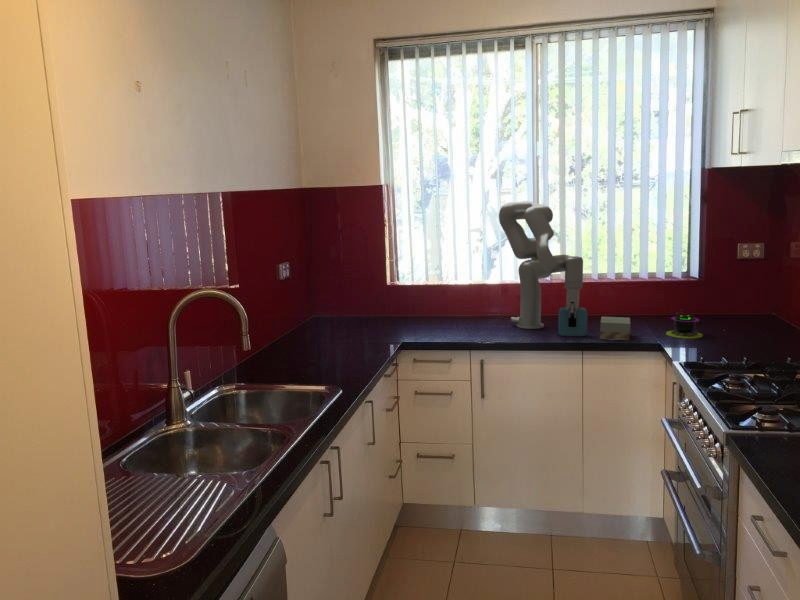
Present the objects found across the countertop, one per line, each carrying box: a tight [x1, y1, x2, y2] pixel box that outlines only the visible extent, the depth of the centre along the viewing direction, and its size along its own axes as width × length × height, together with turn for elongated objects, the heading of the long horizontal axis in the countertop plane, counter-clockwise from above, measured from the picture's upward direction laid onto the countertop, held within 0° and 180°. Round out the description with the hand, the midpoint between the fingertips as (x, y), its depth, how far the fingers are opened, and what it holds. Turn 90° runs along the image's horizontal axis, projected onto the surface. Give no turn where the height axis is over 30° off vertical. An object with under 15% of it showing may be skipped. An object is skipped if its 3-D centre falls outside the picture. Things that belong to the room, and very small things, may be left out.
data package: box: [557, 307, 588, 337], centre depth 293 cm, size 12×4×12 cm, turn 81°
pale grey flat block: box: [599, 316, 631, 334], centre depth 287 cm, size 12×13×4 cm
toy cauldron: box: [665, 309, 704, 339], centre depth 289 cm, size 15×15×11 cm
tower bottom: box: [599, 331, 631, 341], centre depth 288 cm, size 12×13×4 cm
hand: (572, 325), depth 293 cm, fingers closed on data package, 5 cm apart
